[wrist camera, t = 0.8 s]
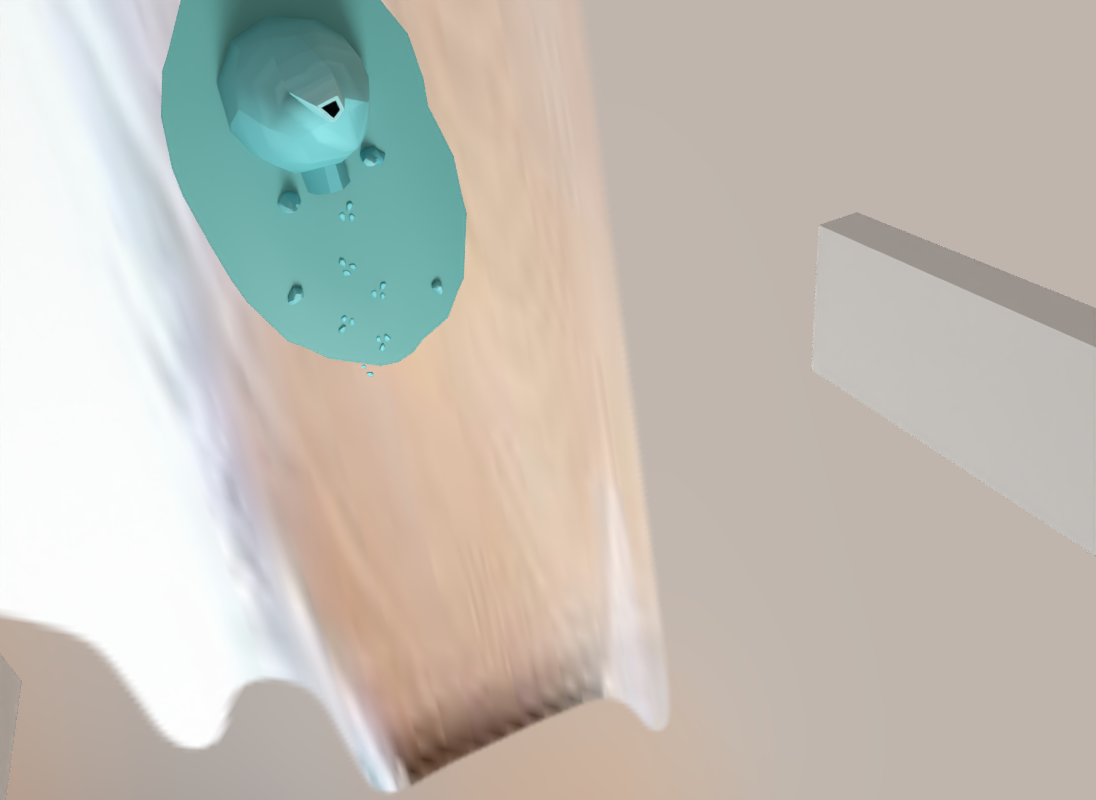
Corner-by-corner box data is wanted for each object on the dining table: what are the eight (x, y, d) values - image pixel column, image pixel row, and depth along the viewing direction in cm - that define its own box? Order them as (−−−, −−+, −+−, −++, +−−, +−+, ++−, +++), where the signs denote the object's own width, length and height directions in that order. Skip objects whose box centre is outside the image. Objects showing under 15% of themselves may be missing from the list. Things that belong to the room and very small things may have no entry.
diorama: (286, 428, 39) (320, 533, 32) (52, -30, 28) (29, -17, 21) (514, 330, 42) (590, 408, 35) (386, -122, 31) (462, -137, 24)
